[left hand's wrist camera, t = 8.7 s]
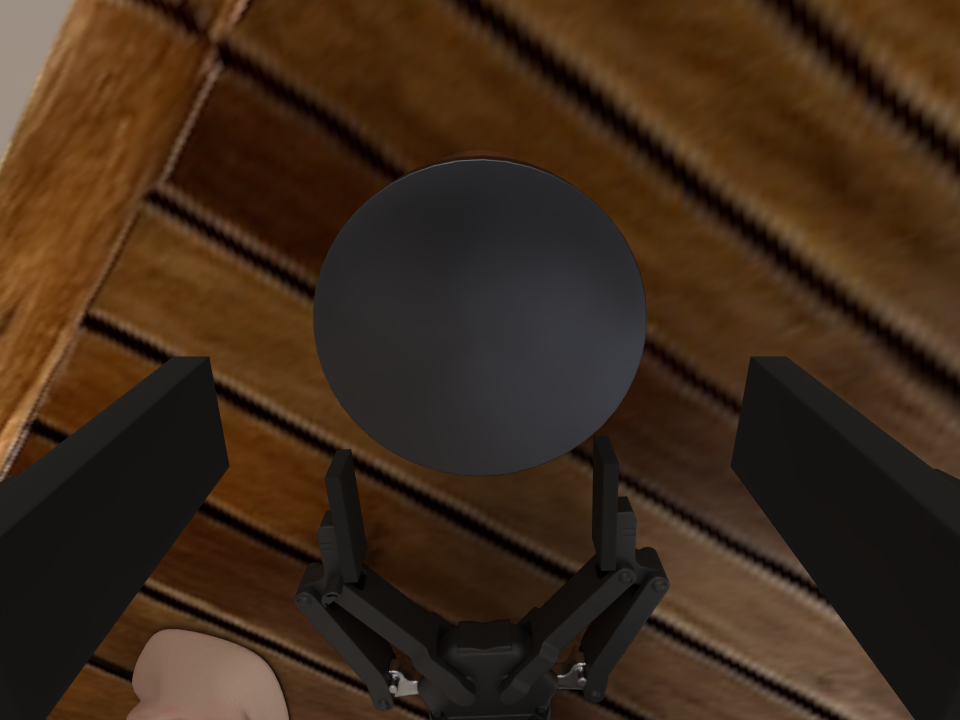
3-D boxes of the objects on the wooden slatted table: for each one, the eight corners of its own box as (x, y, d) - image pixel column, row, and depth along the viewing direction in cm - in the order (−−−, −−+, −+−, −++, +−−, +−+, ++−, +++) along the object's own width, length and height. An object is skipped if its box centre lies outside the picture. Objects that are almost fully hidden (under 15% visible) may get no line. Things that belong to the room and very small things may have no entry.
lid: (270, 338, 20) (250, 359, 18) (451, 80, 17) (448, 75, 15) (501, 495, 22) (503, 526, 21) (696, 291, 19) (717, 308, 18)
